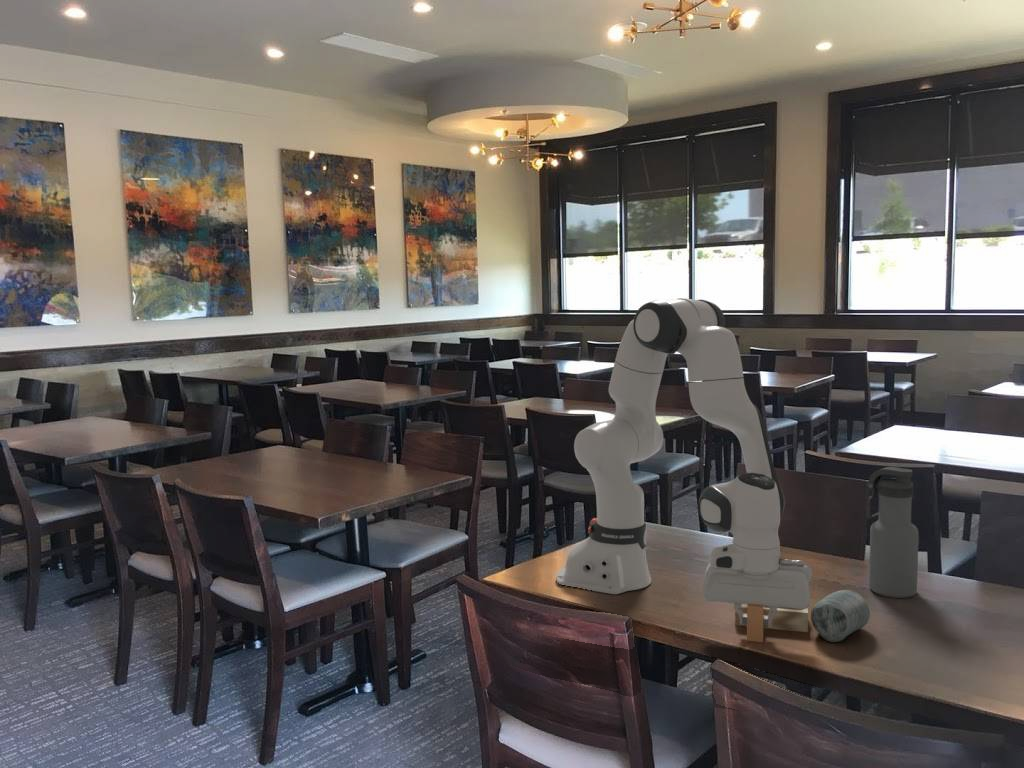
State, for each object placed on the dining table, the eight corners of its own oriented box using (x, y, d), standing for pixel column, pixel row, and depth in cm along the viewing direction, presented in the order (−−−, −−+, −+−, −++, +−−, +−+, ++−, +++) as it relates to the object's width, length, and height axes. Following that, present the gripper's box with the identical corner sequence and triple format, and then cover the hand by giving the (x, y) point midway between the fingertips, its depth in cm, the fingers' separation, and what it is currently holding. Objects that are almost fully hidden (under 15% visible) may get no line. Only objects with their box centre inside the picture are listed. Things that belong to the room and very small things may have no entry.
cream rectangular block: (735, 625, 165) (735, 605, 165) (736, 610, 173) (736, 591, 172) (807, 632, 161) (808, 611, 160) (806, 616, 168) (806, 596, 168)
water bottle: (859, 590, 182) (861, 468, 179) (879, 579, 189) (882, 462, 186) (904, 602, 175) (908, 476, 172) (924, 591, 181) (928, 468, 178)
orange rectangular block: (747, 640, 158) (747, 606, 157) (747, 630, 162) (747, 597, 162) (763, 642, 157) (763, 607, 156) (763, 632, 161) (763, 598, 161)
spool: (848, 638, 150) (834, 584, 154) (805, 646, 157) (793, 594, 161) (888, 637, 158) (874, 585, 162) (846, 644, 165) (833, 595, 169)
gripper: (811, 556, 158) (810, 623, 159) (704, 548, 164) (704, 613, 165) (813, 566, 152) (812, 637, 153) (702, 558, 158) (701, 626, 159)
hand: (755, 625), depth 159 cm, fingers closed on orange rectangular block, 3 cm apart
